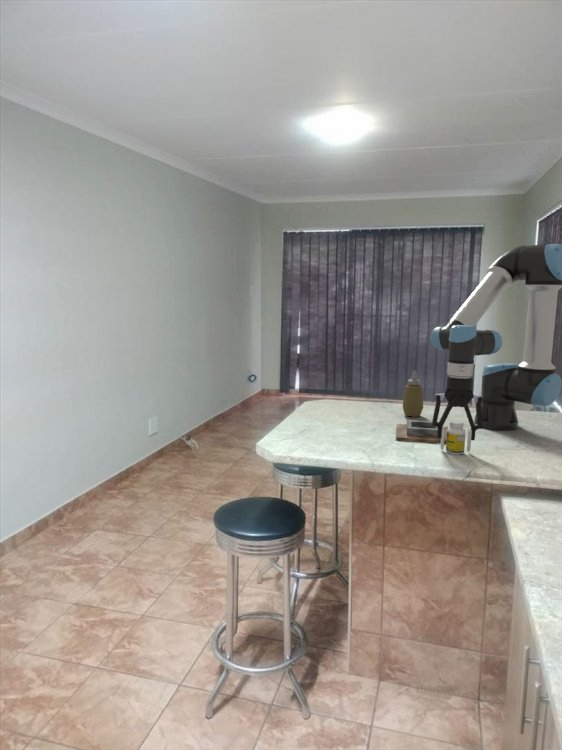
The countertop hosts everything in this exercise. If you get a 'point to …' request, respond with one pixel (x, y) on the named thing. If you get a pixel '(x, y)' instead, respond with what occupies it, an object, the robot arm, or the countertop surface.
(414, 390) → the squeeze bottle
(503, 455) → the countertop surface
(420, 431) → the socket holder
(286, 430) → the countertop surface
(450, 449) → the supplement bottle
